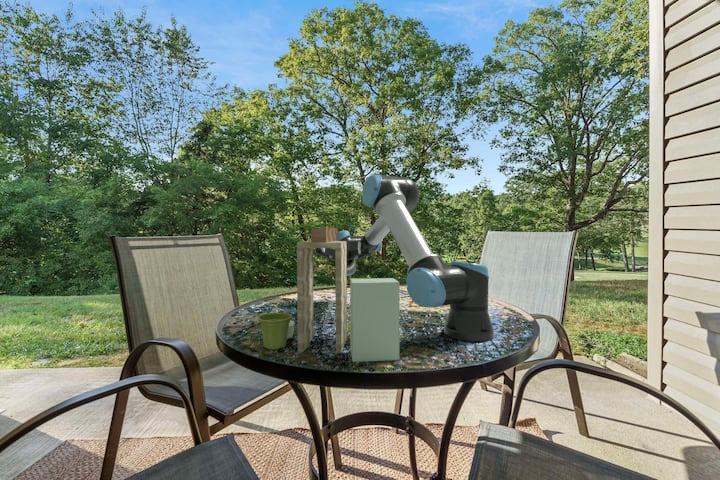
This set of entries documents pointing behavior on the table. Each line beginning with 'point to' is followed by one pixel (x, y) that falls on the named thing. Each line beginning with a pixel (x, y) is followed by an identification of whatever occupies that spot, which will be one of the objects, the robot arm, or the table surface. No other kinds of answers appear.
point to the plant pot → (275, 329)
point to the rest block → (374, 319)
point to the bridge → (307, 292)
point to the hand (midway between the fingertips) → (340, 244)
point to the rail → (324, 234)
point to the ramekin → (290, 329)
